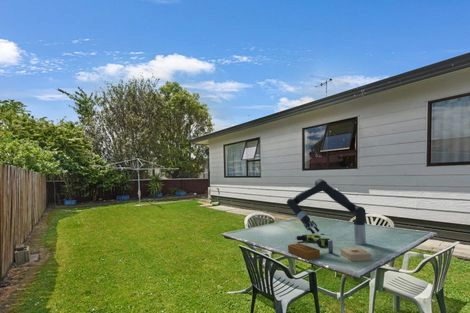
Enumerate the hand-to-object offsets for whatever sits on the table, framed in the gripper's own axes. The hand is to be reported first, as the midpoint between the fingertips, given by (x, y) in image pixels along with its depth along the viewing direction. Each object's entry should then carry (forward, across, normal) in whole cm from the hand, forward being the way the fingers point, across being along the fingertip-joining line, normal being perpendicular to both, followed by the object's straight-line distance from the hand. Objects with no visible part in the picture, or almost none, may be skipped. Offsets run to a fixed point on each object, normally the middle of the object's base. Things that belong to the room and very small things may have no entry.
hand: (316, 232), depth 231 cm
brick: (+8, -16, +14) cm, 23 cm away
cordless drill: (+2, +17, +21) cm, 27 cm away
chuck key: (+19, 0, +2) cm, 19 cm away
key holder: (+32, +1, -11) cm, 34 cm away
